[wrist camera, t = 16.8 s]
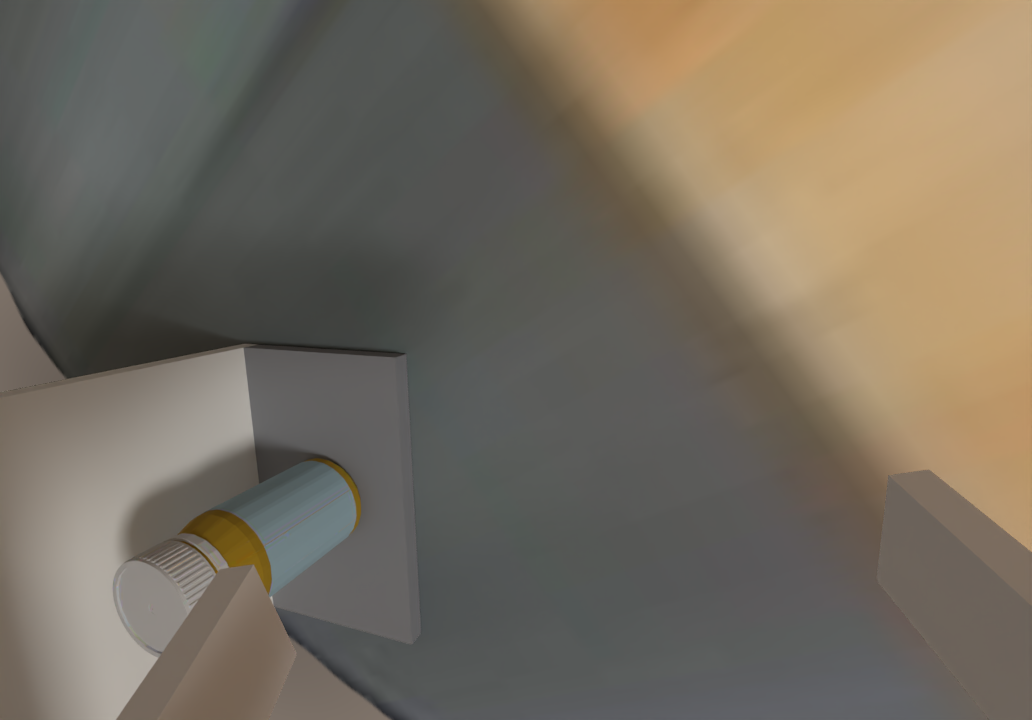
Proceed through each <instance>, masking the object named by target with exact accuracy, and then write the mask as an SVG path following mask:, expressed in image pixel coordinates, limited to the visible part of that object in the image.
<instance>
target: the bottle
mask: <svg viewBox="0 0 1032 720" xmlns="http://www.w3.org/2000/svg"><path fill="white" fill-rule="evenodd" d="M360 516H361V498H360V494H359V491H358V488H357V485H356V484H355V482H354V481H353V479H352V477H351V476H350V475H349V474H348V473H347V472H346V471H345V470H344V469H343V468H342V467H340V466H338V465H336V464H334V463H333V462H331V461H329V460H325V459H320V458H314V459H309V460H306V461H304V462H301V463H299V464H297V465H295V466H293V467H291V468H289V469H287V470H285V471H284V472H282V473H280V474H278V475H276V476H274V477H272V478H270V479H268V480H266V481H264V482H262V483H260V484H258V485H256V486H254V487H252V488H250V489H248V490H246V491H245V492H243V493H241V494H239V495H237V496H235V497H233V498H231V499H229V500H227V501H225V502H223V503H221V504H219V505H217V506H215V507H213V508H211V509H209V510H207V511H206V512H204V513H203V514H201V515H199V516H197V517H196V518H194V519H193V520H191V521H190V522H189V523H188V524H187V525H186V526H185V527H184V528H183V529H182V530H181V531H180V532H179V533H178V534H177V535H176V536H173V537H171V538H169V539H168V540H166V541H164V542H162V543H159V544H157V545H155V546H153V547H152V548H150V549H148V550H146V551H144V552H142V553H140V554H138V555H136V556H135V557H133V558H131V559H129V560H127V561H126V562H125V563H124V564H122V565H121V566H120V567H119V568H118V570H117V571H116V573H115V576H114V580H113V598H114V603H115V607H116V610H117V613H118V615H119V617H120V620H121V622H122V624H123V625H124V627H125V629H126V630H127V632H128V633H129V634H130V636H131V637H132V638H133V639H134V641H135V642H136V643H137V644H138V645H139V646H140V647H142V648H143V649H144V650H145V651H147V652H148V653H150V654H151V655H153V656H155V657H158V658H159V656H160V655H161V654H162V652H163V651H164V649H165V648H166V646H167V645H168V643H169V642H170V641H171V639H172V638H173V636H174V635H175V633H176V632H177V630H178V629H179V628H180V626H181V625H182V623H183V622H184V620H185V619H186V617H187V616H188V615H189V613H190V612H191V610H192V609H193V607H194V606H195V604H196V603H197V602H198V600H199V599H200V597H201V596H202V594H203V593H204V591H205V590H206V588H207V587H208V586H209V584H210V583H211V581H212V580H213V578H214V577H215V575H216V574H217V573H218V571H219V570H220V569H224V568H231V567H239V566H246V565H253V564H254V566H255V568H256V570H257V572H258V574H259V576H260V579H261V581H262V583H263V585H264V587H265V589H266V591H267V593H268V595H269V597H271V596H273V595H274V594H275V593H276V592H278V591H279V590H280V589H282V588H283V587H284V586H285V585H287V584H288V583H289V582H290V581H292V580H293V579H294V578H296V577H297V576H298V575H299V574H301V573H302V572H303V571H305V570H306V569H307V568H308V567H310V566H311V565H312V564H314V563H315V562H316V561H317V560H319V559H320V558H321V557H323V556H324V555H325V554H326V553H328V552H329V551H330V550H332V549H333V548H334V547H335V546H337V545H338V544H339V543H341V542H342V541H343V540H344V539H346V538H347V537H348V536H349V535H350V534H351V533H352V532H353V531H354V530H355V528H356V527H357V526H358V524H359V520H360Z"/></svg>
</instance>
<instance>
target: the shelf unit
mask: <svg viewBox="0 0 1032 720" xmlns="http://www.w3.org/2000/svg"><path fill="white" fill-rule="evenodd" d="M314 458H320V459H325V460H329V461H331V462H333V463H334V464H336V465H338V466H340V467H342V468H343V469H344V470H345V471H346V472H347V473H348V474H349V475H350V476H351V477H352V479H353V481H354V482H355V484H356V485H357V488H358V491H359V494H360V498H361V516H360V520H359V524H358V526H357V527H356V528H355V530H354V531H353V532H352V533H351V534H350V535H349V536H348V537H347V538H346V539H344V540H343V541H342V542H341V543H339V544H338V545H337V546H335V547H334V548H333V549H332V550H330V551H329V552H328V553H326V554H325V555H324V556H323V557H321V558H320V559H319V560H317V561H316V562H315V563H314V564H312V565H311V566H310V567H308V568H307V569H306V570H305V571H303V572H302V573H301V574H299V575H298V576H297V577H296V578H294V579H293V580H292V581H290V582H289V583H288V584H287V585H285V586H284V587H283V588H282V589H280V590H279V591H278V592H276V593H275V594H274V595H273V596H271V597H270V599H271V601H272V604H273V606H274V607H278V608H281V609H285V610H288V611H292V612H296V613H299V614H303V615H306V616H310V617H314V618H317V619H321V620H324V621H328V622H332V623H335V624H339V625H343V626H346V627H350V628H353V629H357V630H361V631H364V632H368V633H371V634H375V635H379V636H382V637H386V638H389V639H393V640H397V641H400V642H404V643H408V644H411V645H412V644H413V643H414V641H415V640H416V639H417V637H418V636H419V635H420V633H421V619H420V600H419V581H418V563H417V544H416V525H415V506H414V488H413V469H412V450H411V431H410V412H409V394H408V375H407V356H406V354H400V353H384V352H368V351H352V350H336V349H320V348H304V347H289V346H273V345H257V344H240V345H235V346H230V347H225V348H220V349H215V350H210V351H205V352H200V353H195V354H190V355H185V356H180V357H175V358H170V359H165V360H160V361H155V362H150V363H145V364H140V365H135V366H130V367H125V368H120V369H115V370H110V371H105V372H100V373H95V374H90V375H85V376H80V377H75V378H70V379H65V380H60V381H56V382H51V383H45V384H40V385H35V386H30V387H25V388H20V389H15V390H10V391H5V392H0V720H116V719H117V717H118V716H119V714H120V713H121V711H122V710H123V709H124V707H125V706H126V704H127V703H128V701H129V700H130V698H131V697H132V696H133V694H134V693H135V691H136V690H137V688H138V687H139V685H140V684H141V683H142V681H143V680H144V678H145V677H146V675H147V674H148V672H149V671H150V669H151V668H152V667H153V665H154V664H155V662H156V661H157V659H158V657H155V656H153V655H151V654H150V653H148V652H147V651H145V650H144V649H143V648H142V647H140V646H139V645H138V644H137V643H136V642H135V641H134V639H133V638H132V637H131V636H130V634H129V633H128V632H127V630H126V629H125V627H124V625H123V624H122V622H121V620H120V617H119V615H118V613H117V610H116V607H115V603H114V598H113V580H114V576H115V573H116V571H117V570H118V568H119V567H120V566H121V565H122V564H124V563H125V562H126V561H127V560H129V559H131V558H133V557H135V556H136V555H138V554H140V553H142V552H144V551H146V550H148V549H150V548H152V547H153V546H155V545H157V544H159V543H162V542H164V541H166V540H168V539H169V538H171V537H173V536H176V535H177V534H178V533H179V532H180V531H181V530H182V529H183V528H184V527H185V526H186V525H187V524H188V523H189V522H190V521H191V520H193V519H194V518H196V517H197V516H199V515H201V514H203V513H204V512H206V511H207V510H209V509H211V508H213V507H215V506H217V505H219V504H221V503H223V502H225V501H227V500H229V499H231V498H233V497H235V496H237V495H239V494H241V493H243V492H245V491H246V490H248V489H250V488H252V487H254V486H256V485H258V484H260V483H262V482H264V481H266V480H268V479H270V478H272V477H274V476H276V475H278V474H280V473H282V472H284V471H285V470H287V469H289V468H291V467H293V466H295V465H297V464H299V463H301V462H304V461H306V460H309V459H314Z"/></svg>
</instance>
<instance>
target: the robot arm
mask: <svg viewBox="0 0 1032 720" xmlns="http://www.w3.org/2000/svg"><path fill="white" fill-rule="evenodd" d="M877 582H878V583H879V584H880V585H881V586H882V588H883V589H884V590H885V591H886V593H887V594H888V595H889V596H890V598H891V599H892V600H893V601H894V603H895V604H896V605H897V606H898V607H899V609H900V610H901V611H902V612H903V614H904V615H905V616H906V617H907V619H908V620H909V621H910V622H911V624H912V625H913V626H914V627H915V628H916V630H917V631H918V632H919V633H920V635H921V636H922V637H923V638H924V640H925V641H926V642H927V643H928V645H929V646H930V647H931V648H932V649H933V651H934V652H935V653H936V654H937V656H938V657H939V658H940V659H941V661H942V662H943V663H944V664H945V666H946V667H947V668H948V669H949V670H950V672H951V673H952V674H953V675H954V677H955V678H956V679H957V680H958V682H959V683H960V684H961V685H962V687H963V688H964V689H965V690H966V691H967V693H968V694H969V695H970V696H971V698H972V699H973V700H974V701H975V703H976V704H977V705H978V706H979V708H980V709H981V710H982V711H983V712H984V714H985V715H986V716H987V717H988V719H989V720H1032V552H1030V551H1029V550H1028V549H1027V548H1026V547H1024V546H1023V545H1022V544H1021V543H1019V542H1018V541H1017V540H1016V539H1014V538H1013V537H1012V536H1011V535H1009V534H1008V533H1007V532H1006V531H1005V530H1003V529H1002V528H1001V527H1000V526H998V525H997V524H996V523H995V522H993V521H992V520H991V519H990V518H988V517H987V516H986V515H985V514H983V513H982V512H981V511H980V510H979V509H977V508H976V507H975V506H974V505H972V504H971V503H970V502H969V501H967V500H966V499H965V498H964V497H962V496H961V495H960V494H959V493H957V492H956V491H955V490H954V489H953V488H951V487H950V486H949V485H948V484H946V483H945V482H944V481H943V480H941V479H940V478H939V477H938V476H936V475H935V474H934V473H933V472H931V471H930V470H922V471H915V472H908V473H901V474H894V475H888V484H887V493H886V501H885V510H884V519H883V528H882V537H881V546H880V555H879V564H878V573H877ZM296 655H297V654H296V651H295V649H294V647H293V646H292V643H291V641H290V639H289V637H288V635H287V633H286V631H285V629H284V626H283V624H282V622H281V620H280V618H279V616H278V614H277V612H276V610H275V608H274V606H273V604H272V601H271V599H270V597H269V595H268V593H267V591H266V589H265V587H264V585H263V583H262V581H261V579H260V576H259V574H258V572H257V570H256V568H255V566H254V564H253V565H246V566H239V567H231V568H224V569H220V570H219V571H218V573H217V574H216V575H215V577H214V578H213V580H212V581H211V583H210V584H209V586H208V587H207V588H206V590H205V591H204V593H203V594H202V596H201V597H200V599H199V600H198V602H197V603H196V604H195V606H194V607H193V609H192V610H191V612H190V613H189V615H188V616H187V617H186V619H185V620H184V622H183V623H182V625H181V626H180V628H179V629H178V630H177V632H176V633H175V635H174V636H173V638H172V639H171V641H170V642H169V643H168V645H167V646H166V648H165V649H164V651H163V652H162V654H161V655H160V656H159V658H158V659H157V661H156V662H155V664H154V665H153V667H152V668H151V669H150V671H149V672H148V674H147V675H146V677H145V678H144V680H143V681H142V683H141V684H140V685H139V687H138V688H137V690H136V691H135V693H134V694H133V696H132V697H131V698H130V700H129V701H128V703H127V704H126V706H125V707H124V709H123V710H122V711H121V713H120V714H119V716H118V717H117V719H116V720H269V717H270V715H271V713H272V711H273V708H274V706H275V703H276V701H277V699H278V696H279V694H280V692H281V690H282V687H283V685H284V682H285V680H286V678H287V676H288V673H289V671H290V668H291V666H292V664H293V661H294V659H295V657H296Z"/></svg>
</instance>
